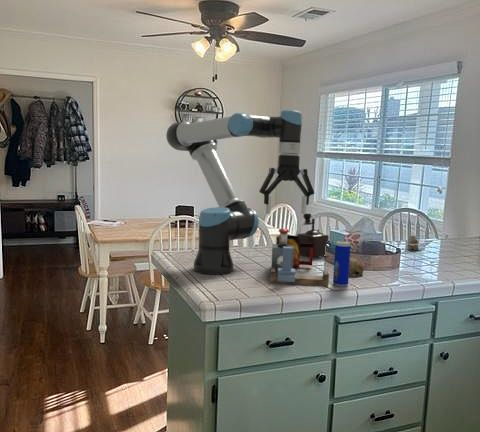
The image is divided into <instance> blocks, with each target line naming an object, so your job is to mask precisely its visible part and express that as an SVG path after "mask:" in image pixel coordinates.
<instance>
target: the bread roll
mask: <svg viewBox="0 0 480 432" xmlns="http://www.w3.org/2000/svg"><path fill="white" fill-rule="evenodd" d="M363 273H364V268H363V265H362V263H361V262H360V261H359V259H357V258H356V259H355V257H354V258H353V257H350V262H349V277H359V276H362V275H363Z"/></svg>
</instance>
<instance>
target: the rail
mask: <svg viewBox="0 0 480 432" xmlns="http://www.w3.org/2000/svg"><path fill="white" fill-rule="evenodd" d="M329 279H330V273H329V271H328V270H322V275H314V274H298V273H297V274H296V273H295V282H287V281H278V273H275V268H271V267H270V280H269V281H270V283H271V284H288V285H289V284H290V285H292V284H293V285H307V286H325V287H328V286H329V281H330V280H329Z"/></svg>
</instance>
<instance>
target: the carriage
mask: <svg viewBox="0 0 480 432" xmlns="http://www.w3.org/2000/svg"><path fill="white" fill-rule="evenodd" d="M291 258H292V247H285V246H283V264H282V268H278V281H287V282H295V274H296V269H291Z"/></svg>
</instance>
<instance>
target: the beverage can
mask: <svg viewBox="0 0 480 432" xmlns="http://www.w3.org/2000/svg"><path fill="white" fill-rule="evenodd" d="M334 246H335V247H334V263H333V277H332V278H333V279H332V283H333V285H335V286H338V287H346V286H348V285H349V279H350V278H349V277H350V276H349V262H350V258H351V247H352V246H351V243H350V241H345V240H338V241H336V242H335V244H334Z"/></svg>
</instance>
